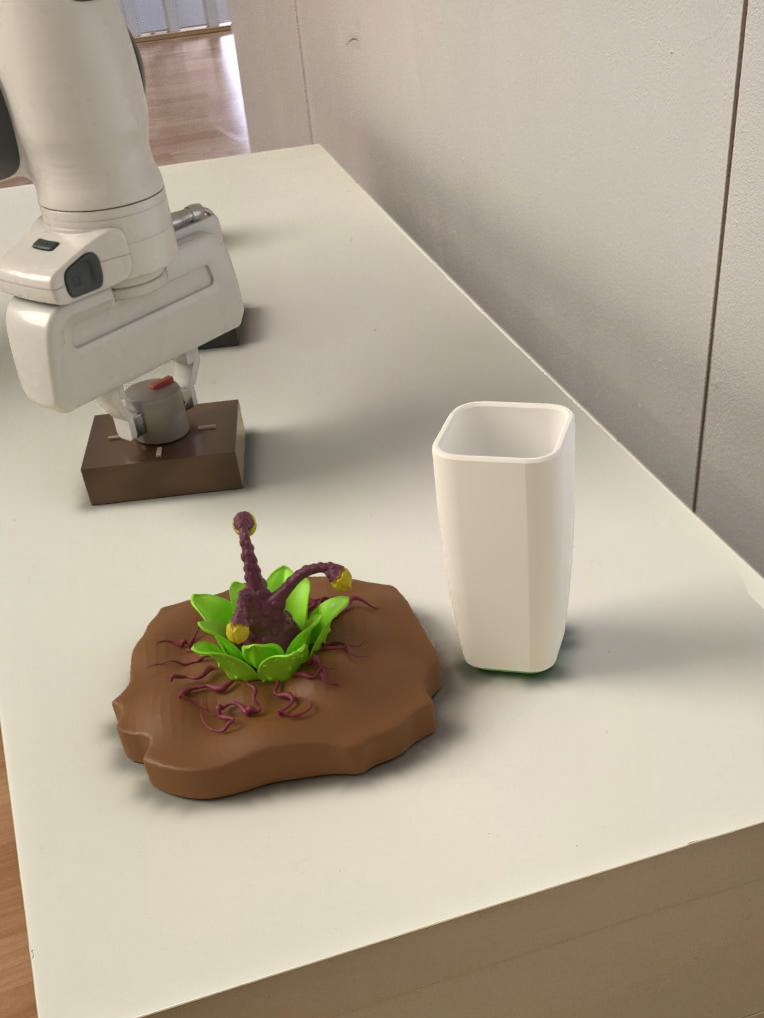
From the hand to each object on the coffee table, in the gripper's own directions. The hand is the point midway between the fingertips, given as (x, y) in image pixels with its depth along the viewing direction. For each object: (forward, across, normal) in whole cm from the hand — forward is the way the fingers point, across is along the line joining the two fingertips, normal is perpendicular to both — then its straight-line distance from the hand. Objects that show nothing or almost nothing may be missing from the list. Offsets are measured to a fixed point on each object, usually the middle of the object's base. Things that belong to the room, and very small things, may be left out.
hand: (159, 422), depth 97 cm
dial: (+1, 0, 0) cm, 1 cm away
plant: (+4, +19, +29) cm, 34 cm away
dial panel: (+4, 0, 0) cm, 4 cm away
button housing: (+4, -22, -21) cm, 30 cm away
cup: (+4, +8, +39) cm, 40 cm away
